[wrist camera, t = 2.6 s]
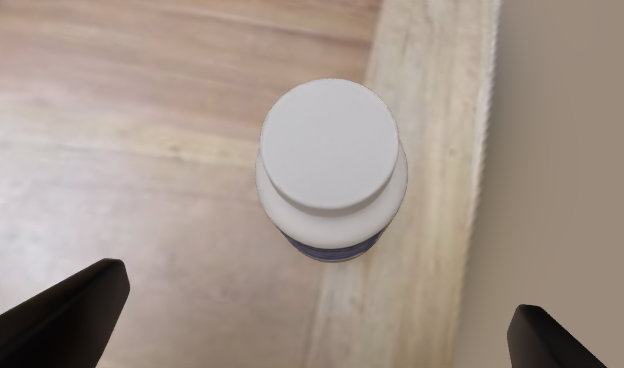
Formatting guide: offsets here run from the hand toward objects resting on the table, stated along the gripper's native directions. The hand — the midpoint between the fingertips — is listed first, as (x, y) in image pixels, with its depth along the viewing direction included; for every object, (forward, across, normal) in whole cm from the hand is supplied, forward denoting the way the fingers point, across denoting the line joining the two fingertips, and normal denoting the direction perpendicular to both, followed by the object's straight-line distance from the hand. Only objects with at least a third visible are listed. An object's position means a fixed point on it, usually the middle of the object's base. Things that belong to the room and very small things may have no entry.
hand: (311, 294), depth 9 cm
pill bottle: (+11, 0, +5) cm, 12 cm away
